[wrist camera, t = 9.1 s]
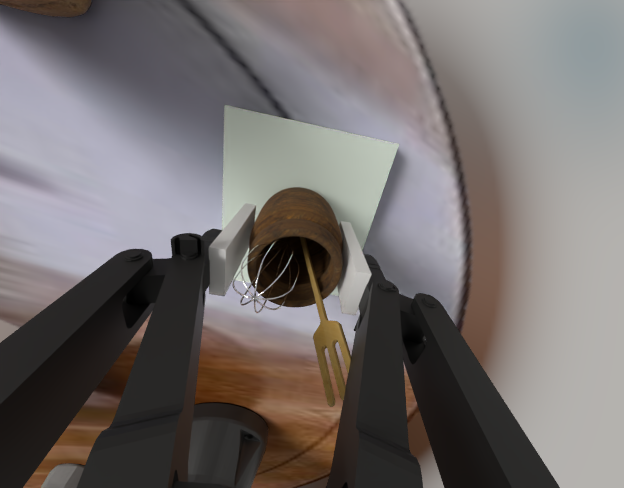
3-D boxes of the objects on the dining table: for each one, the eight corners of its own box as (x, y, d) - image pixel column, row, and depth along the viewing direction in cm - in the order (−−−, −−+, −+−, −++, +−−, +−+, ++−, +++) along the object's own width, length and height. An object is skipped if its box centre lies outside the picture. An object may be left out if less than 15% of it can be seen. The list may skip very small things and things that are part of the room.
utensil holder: (302, 166, 16) (301, 248, 6) (351, 229, 19) (415, 369, 8) (243, 216, 18) (156, 352, 7) (295, 268, 20) (288, 427, 10)
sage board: (343, 284, 24) (346, 297, 22) (227, 266, 23) (220, 278, 21) (390, 142, 18) (399, 144, 16) (233, 106, 17) (224, 104, 15)
